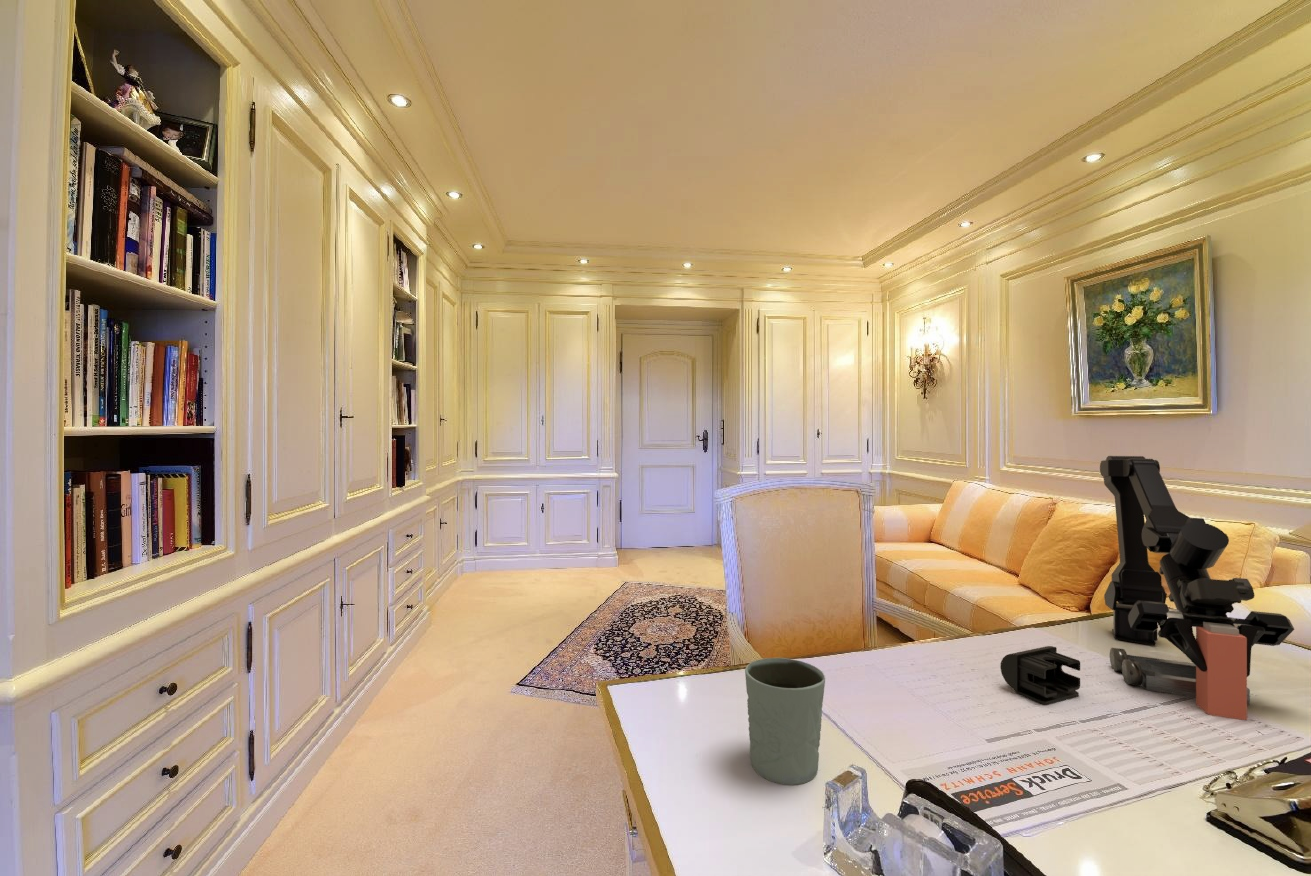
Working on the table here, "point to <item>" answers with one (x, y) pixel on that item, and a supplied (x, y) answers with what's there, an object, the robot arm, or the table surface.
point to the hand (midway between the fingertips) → (1225, 673)
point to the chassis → (1157, 673)
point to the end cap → (1041, 675)
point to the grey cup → (784, 718)
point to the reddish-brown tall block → (1222, 671)
